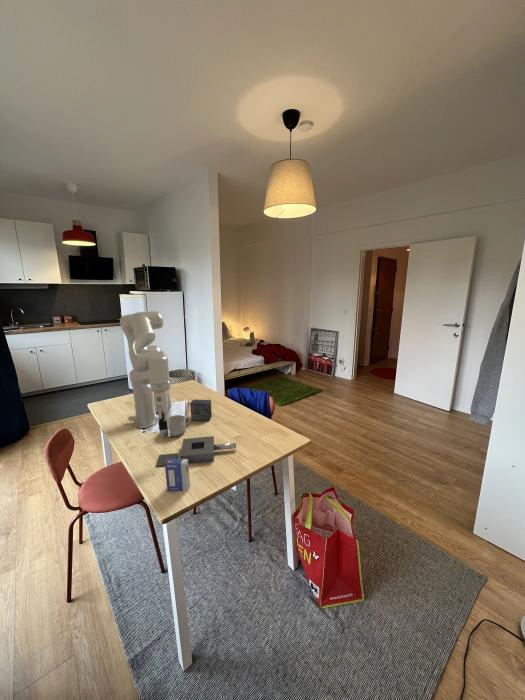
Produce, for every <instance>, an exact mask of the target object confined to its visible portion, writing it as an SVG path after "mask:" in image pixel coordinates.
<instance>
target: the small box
mask: <svg viewBox="0 0 525 700" xmlns="http://www.w3.org/2000/svg"><path fill="white" fill-rule="evenodd" d="M189 407H190V417H191V421H192V422H196V421H197V422H210V421H211V419H212V417H213V414H212V400H211V399H192V400H191V402H190V403H189ZM191 421H190V422H191Z"/></svg>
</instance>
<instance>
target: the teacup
mask: <svg viewBox="0 0 525 700" xmlns="http://www.w3.org/2000/svg"><path fill="white" fill-rule="evenodd" d="M187 419H188V420H187ZM190 422H191V415H189V414H188V415H182V414H174V415H171V416H169V425H170V436H169V437H178V436H180V435H182V434H184V432H185V431H186V428H187V426H188V425H189V424H190Z"/></svg>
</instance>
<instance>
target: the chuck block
mask: <svg viewBox="0 0 525 700" xmlns="http://www.w3.org/2000/svg"><path fill="white" fill-rule="evenodd" d="M233 449H237V443H236V442H231V443H228V442H227V443H219V444H215V436H214V435H212V436H211V435H210V436H201V437H199V436H198V437H189V438H188V437H187V438H183V439H182V443H181V450H180V454H179V459H188V465H189V464H198V463H207V462H208V463H210V462H215V451H221V450H223V451H224V450H233Z"/></svg>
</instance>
